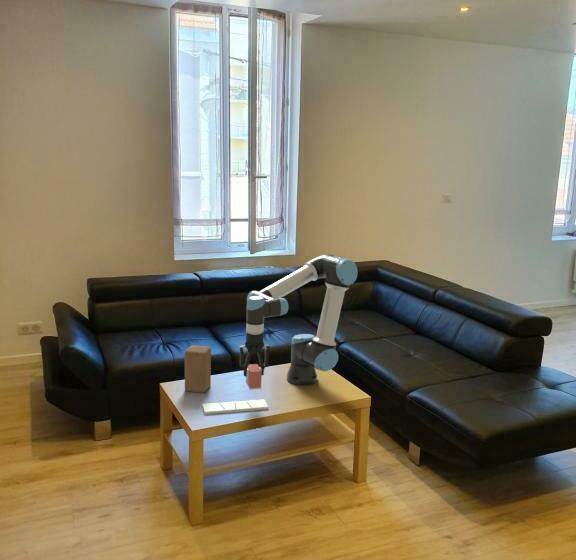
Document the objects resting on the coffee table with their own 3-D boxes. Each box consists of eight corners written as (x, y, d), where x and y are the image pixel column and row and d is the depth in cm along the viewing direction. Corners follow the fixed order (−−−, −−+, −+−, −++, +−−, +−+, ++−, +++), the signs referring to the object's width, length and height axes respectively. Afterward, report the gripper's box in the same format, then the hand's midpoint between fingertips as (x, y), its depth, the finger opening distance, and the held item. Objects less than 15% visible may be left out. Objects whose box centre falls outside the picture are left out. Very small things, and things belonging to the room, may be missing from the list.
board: (264, 401, 263) (264, 399, 262) (268, 409, 255) (268, 406, 255) (202, 406, 256) (202, 403, 255) (204, 414, 248) (204, 411, 248)
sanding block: (256, 380, 260) (257, 364, 258) (261, 388, 251) (261, 371, 250) (245, 381, 259) (246, 364, 257) (249, 389, 250) (250, 372, 248)
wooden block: (204, 393, 269) (204, 353, 264) (183, 391, 271) (183, 351, 266) (211, 385, 278) (211, 346, 274) (191, 383, 280) (191, 344, 276)
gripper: (273, 328, 255) (271, 377, 261) (232, 330, 251) (231, 380, 256) (277, 333, 248) (275, 384, 254) (235, 335, 244) (234, 387, 249)
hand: (253, 382), depth 255 cm, fingers closed on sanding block, 5 cm apart
